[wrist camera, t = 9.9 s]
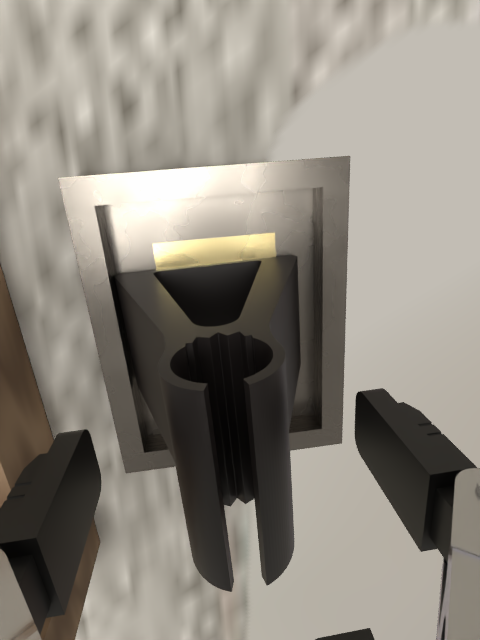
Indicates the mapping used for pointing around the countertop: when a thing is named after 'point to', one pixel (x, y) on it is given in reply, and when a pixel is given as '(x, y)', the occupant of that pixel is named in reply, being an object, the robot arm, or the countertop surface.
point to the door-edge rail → (32, 450)
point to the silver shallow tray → (209, 248)
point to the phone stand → (222, 394)
